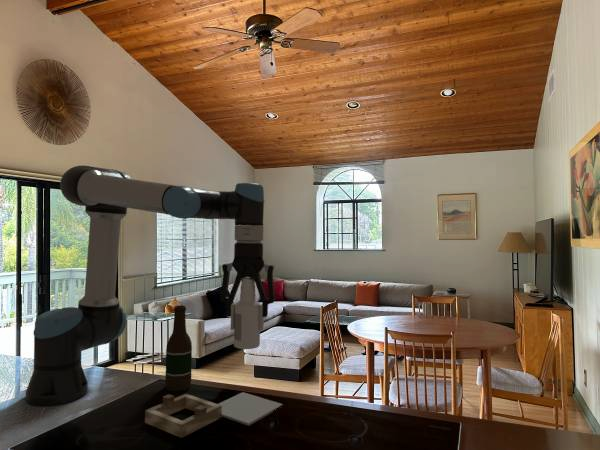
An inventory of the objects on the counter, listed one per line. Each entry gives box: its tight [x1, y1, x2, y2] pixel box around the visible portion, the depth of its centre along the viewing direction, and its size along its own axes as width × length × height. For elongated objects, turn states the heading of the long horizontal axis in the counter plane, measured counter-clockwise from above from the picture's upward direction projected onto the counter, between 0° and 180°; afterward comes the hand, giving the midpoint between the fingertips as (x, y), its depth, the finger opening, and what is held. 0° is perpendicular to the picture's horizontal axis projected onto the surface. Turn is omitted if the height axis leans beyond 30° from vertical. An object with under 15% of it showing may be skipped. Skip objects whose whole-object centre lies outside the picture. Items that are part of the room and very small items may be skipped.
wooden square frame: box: [144, 393, 223, 439], centre depth 109 cm, size 14×13×4 cm
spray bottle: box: [233, 277, 261, 350], centre depth 116 cm, size 7×7×18 cm
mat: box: [217, 391, 283, 426], centre depth 116 cm, size 14×14×1 cm
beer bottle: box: [164, 305, 193, 392], centre depth 130 cm, size 8×8×24 cm
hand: (247, 328), depth 116 cm, fingers closed on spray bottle, 7 cm apart
